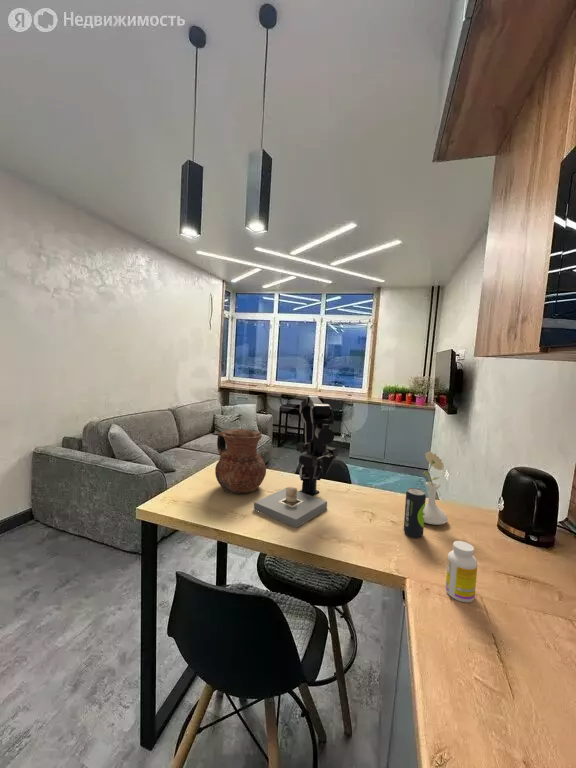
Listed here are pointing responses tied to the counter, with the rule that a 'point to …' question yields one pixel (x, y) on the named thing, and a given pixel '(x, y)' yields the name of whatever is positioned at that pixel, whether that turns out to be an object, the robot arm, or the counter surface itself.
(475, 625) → the counter surface
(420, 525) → the beverage can
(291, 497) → the birch peg
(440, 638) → the counter surface
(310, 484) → the robot arm
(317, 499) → the socket board
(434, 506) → the flower in vase
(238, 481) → the jug
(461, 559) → the supplement bottle
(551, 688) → the counter surface
